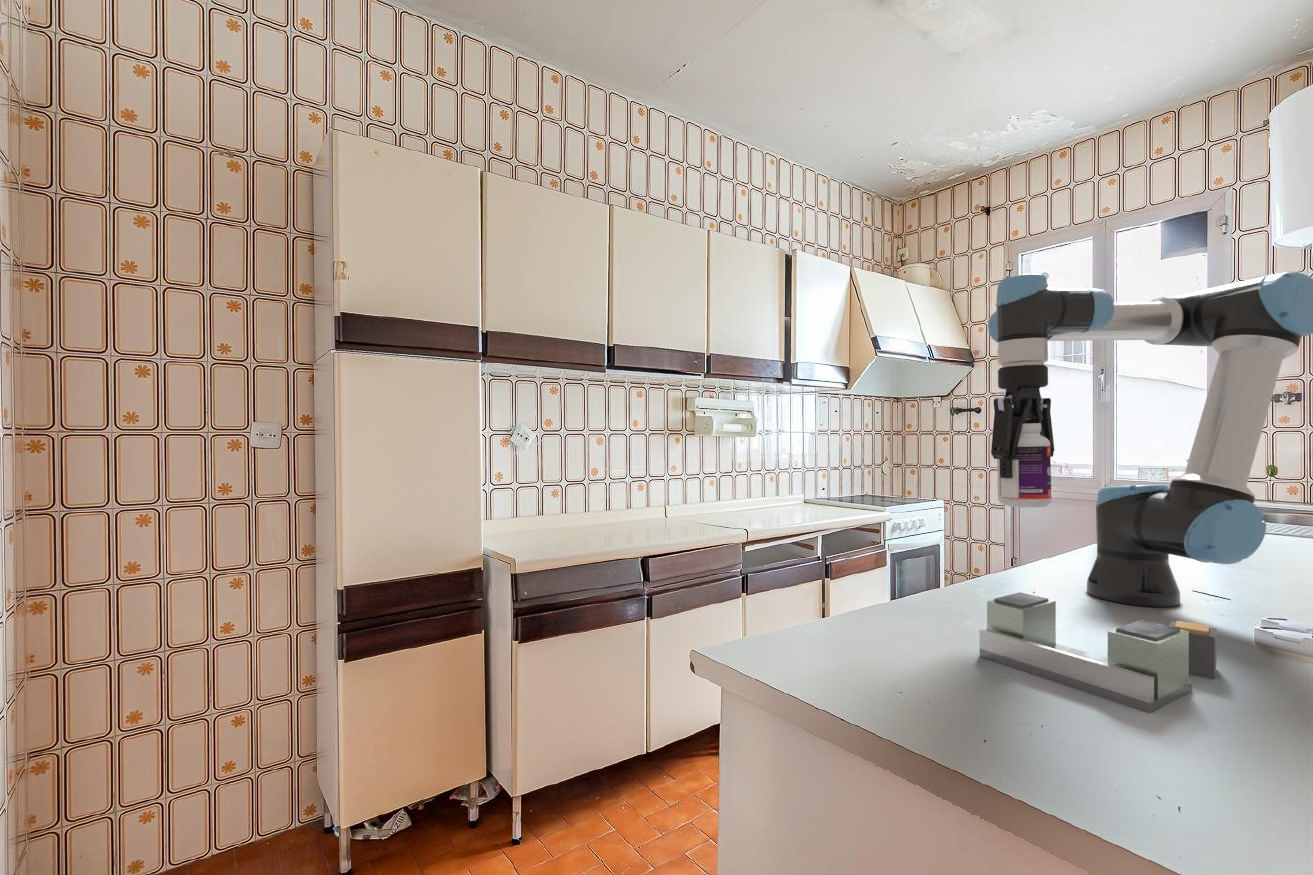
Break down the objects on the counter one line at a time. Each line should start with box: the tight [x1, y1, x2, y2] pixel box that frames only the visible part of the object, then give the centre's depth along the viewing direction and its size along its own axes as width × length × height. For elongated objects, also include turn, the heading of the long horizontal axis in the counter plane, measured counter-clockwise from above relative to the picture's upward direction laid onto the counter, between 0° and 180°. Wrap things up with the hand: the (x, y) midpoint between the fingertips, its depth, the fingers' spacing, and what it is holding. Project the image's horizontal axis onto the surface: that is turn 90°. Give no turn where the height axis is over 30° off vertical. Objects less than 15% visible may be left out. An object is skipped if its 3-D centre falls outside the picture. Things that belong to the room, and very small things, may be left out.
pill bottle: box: [996, 423, 1052, 508], centre depth 107 cm, size 8×8×14 cm
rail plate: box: [978, 591, 1193, 714], centre depth 88 cm, size 12×22×9 cm, turn 30°
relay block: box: [1169, 620, 1218, 680], centre depth 88 cm, size 5×5×6 cm
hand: (1024, 495), depth 107 cm, fingers closed on pill bottle, 8 cm apart
